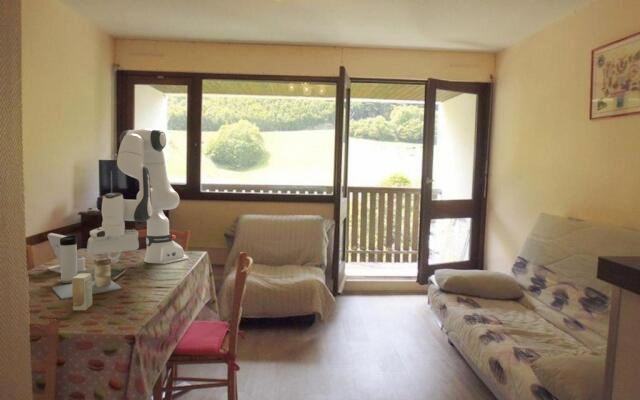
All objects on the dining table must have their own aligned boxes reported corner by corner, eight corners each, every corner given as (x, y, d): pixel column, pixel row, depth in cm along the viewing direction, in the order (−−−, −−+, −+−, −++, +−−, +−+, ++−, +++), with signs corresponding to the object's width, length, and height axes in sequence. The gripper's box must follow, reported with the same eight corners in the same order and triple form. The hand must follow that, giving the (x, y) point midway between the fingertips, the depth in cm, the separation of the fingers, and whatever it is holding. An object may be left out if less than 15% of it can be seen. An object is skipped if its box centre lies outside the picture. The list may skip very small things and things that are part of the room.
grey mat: (108, 279, 189) (108, 277, 189) (121, 289, 176) (121, 287, 176) (51, 288, 174) (51, 286, 174) (61, 299, 161) (61, 298, 161)
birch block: (107, 282, 182) (106, 257, 181) (110, 285, 179) (110, 259, 178) (94, 284, 179) (94, 259, 178) (98, 287, 175) (97, 261, 174)
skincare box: (80, 304, 156) (80, 272, 155) (92, 304, 157) (92, 272, 155) (72, 310, 150) (71, 277, 149) (84, 310, 150) (84, 277, 149)
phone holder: (87, 270, 202) (86, 233, 201) (66, 275, 194) (64, 236, 192) (67, 264, 211) (66, 229, 209) (46, 269, 202) (44, 232, 201)
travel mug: (81, 280, 186) (80, 236, 184) (68, 284, 180) (67, 238, 178) (71, 278, 188) (69, 234, 187) (57, 282, 182) (56, 237, 180)
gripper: (135, 227, 189) (136, 257, 190) (85, 231, 175) (86, 264, 176) (140, 229, 184) (141, 260, 186) (89, 234, 171) (90, 267, 172)
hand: (113, 262), depth 181 cm, fingers closed
